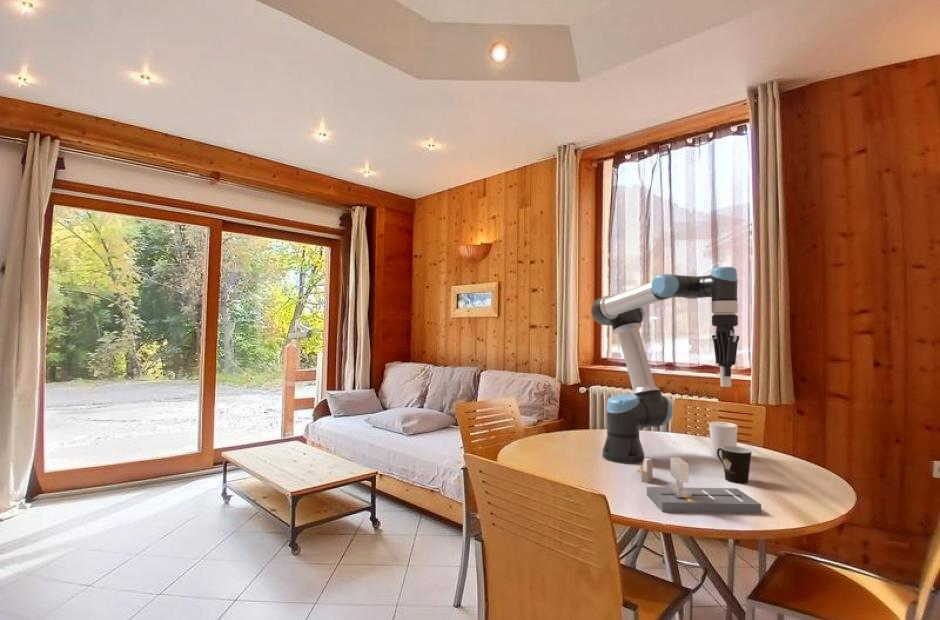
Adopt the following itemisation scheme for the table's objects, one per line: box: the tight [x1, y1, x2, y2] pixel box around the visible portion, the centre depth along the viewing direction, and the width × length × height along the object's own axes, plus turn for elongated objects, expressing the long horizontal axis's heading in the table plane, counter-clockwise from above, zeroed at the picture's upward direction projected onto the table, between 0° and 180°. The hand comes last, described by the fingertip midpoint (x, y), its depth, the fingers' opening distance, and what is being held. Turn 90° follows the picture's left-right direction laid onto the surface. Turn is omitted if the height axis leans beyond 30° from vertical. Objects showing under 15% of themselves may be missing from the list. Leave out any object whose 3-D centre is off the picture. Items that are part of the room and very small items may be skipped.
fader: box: [667, 456, 692, 498], centre depth 130 cm, size 4×6×9 cm, turn 178°
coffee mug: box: [716, 446, 753, 485], centre depth 151 cm, size 12×9×10 cm
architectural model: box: [636, 456, 654, 484], centre depth 150 cm, size 3×7×7 cm, turn 143°
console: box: [646, 486, 762, 515], centre depth 129 cm, size 26×12×3 cm, turn 88°
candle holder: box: [708, 421, 739, 459], centre depth 179 cm, size 10×10×12 cm
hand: (725, 386), depth 150 cm, fingers closed
